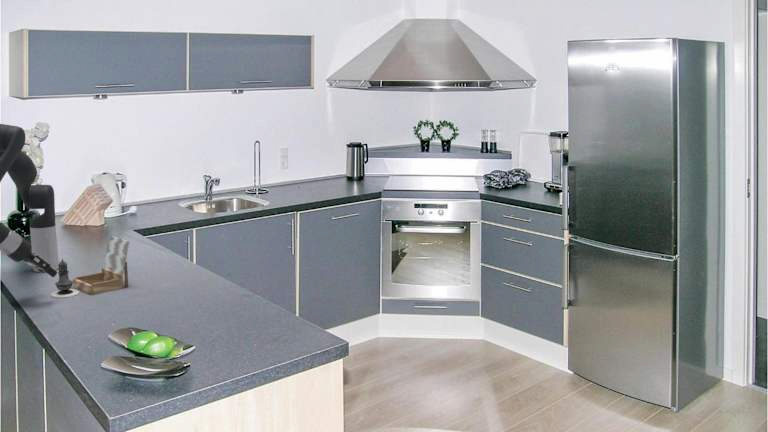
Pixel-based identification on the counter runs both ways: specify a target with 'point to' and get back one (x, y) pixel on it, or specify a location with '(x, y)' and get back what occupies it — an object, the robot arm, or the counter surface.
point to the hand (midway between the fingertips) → (49, 272)
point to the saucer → (75, 292)
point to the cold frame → (107, 270)
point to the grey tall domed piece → (63, 280)
